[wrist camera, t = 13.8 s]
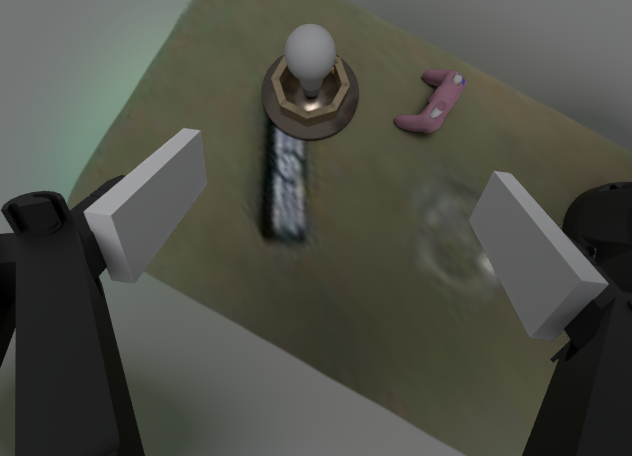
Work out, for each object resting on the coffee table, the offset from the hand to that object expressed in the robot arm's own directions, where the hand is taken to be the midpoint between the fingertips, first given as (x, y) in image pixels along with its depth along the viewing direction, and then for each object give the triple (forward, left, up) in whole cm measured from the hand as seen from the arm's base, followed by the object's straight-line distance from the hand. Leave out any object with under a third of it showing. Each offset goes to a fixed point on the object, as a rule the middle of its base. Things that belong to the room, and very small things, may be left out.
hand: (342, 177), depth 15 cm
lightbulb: (+11, -18, -29) cm, 36 cm away
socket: (+11, -18, -29) cm, 36 cm away
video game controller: (-5, -24, -30) cm, 39 cm away
